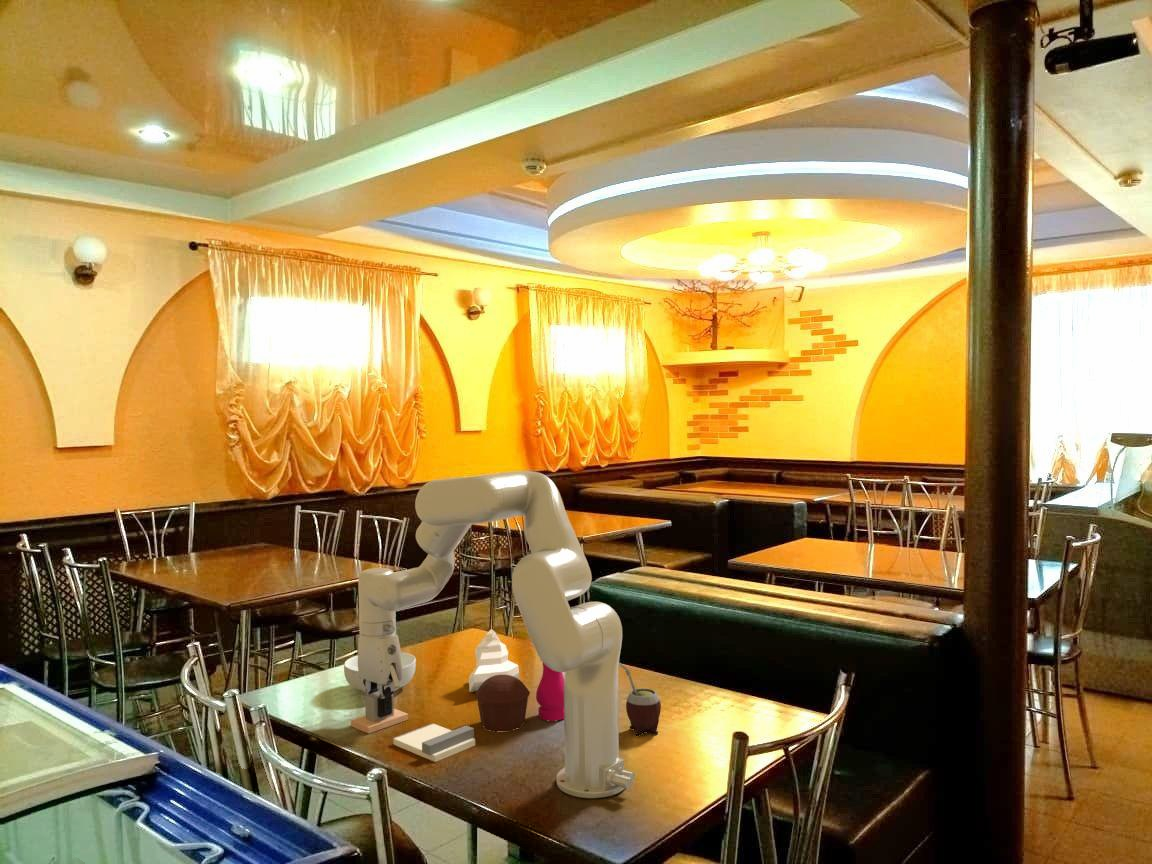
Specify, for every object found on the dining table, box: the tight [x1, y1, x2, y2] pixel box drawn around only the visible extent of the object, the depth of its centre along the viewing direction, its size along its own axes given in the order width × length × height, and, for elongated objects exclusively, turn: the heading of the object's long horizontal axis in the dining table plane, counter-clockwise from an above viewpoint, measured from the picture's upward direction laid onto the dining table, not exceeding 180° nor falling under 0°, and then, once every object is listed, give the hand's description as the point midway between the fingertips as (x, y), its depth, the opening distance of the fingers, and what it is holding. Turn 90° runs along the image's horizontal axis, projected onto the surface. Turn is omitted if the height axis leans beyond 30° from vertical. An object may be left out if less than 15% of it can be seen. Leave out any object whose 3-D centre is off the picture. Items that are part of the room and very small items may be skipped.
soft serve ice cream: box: [468, 628, 520, 693], centre depth 196 cm, size 12×15×14 cm
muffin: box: [474, 675, 531, 733], centre depth 171 cm, size 12×11×10 cm
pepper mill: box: [535, 659, 565, 722], centre depth 175 cm, size 7×7×20 cm
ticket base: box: [392, 722, 476, 763], centre depth 161 cm, size 13×11×3 cm
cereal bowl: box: [343, 651, 417, 694], centre depth 194 cm, size 17×17×7 cm
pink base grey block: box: [350, 689, 409, 734], centre depth 173 cm, size 6×10×6 cm, turn 139°
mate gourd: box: [619, 662, 662, 737], centre depth 166 cm, size 8×8×15 cm
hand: (379, 712), depth 173 cm, fingers closed on pink base grey block, 3 cm apart
